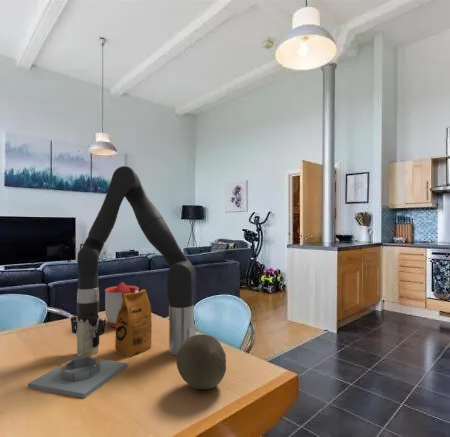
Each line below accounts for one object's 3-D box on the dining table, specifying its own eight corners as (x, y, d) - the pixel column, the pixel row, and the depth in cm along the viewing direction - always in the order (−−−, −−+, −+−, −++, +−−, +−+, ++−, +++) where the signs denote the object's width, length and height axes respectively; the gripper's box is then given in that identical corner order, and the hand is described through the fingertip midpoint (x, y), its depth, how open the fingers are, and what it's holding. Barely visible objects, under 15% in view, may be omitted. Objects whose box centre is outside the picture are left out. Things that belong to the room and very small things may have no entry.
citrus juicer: (114, 333, 138) (114, 287, 139) (99, 323, 151) (99, 282, 152) (146, 325, 149) (146, 282, 149) (130, 317, 162) (130, 278, 162)
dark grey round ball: (201, 372, 102) (201, 325, 102) (236, 386, 93) (235, 334, 93) (167, 390, 91) (167, 337, 91) (202, 408, 82) (202, 349, 82)
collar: (106, 367, 103) (106, 356, 103) (82, 383, 92) (82, 371, 92) (79, 362, 106) (79, 353, 106) (52, 378, 95) (52, 367, 95)
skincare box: (83, 358, 112) (83, 323, 113) (76, 355, 115) (76, 321, 115) (99, 352, 118) (99, 319, 118) (92, 349, 120) (92, 317, 120)
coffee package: (111, 351, 118) (111, 292, 118) (139, 342, 128) (139, 287, 128) (127, 358, 112) (127, 296, 112) (155, 347, 122) (155, 290, 122)
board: (127, 366, 106) (127, 362, 106) (84, 398, 87) (84, 393, 87) (78, 359, 111) (78, 355, 111) (27, 387, 92) (27, 383, 92)
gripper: (111, 298, 118) (111, 344, 118) (79, 296, 122) (79, 340, 122) (97, 303, 111) (97, 352, 111) (64, 301, 115) (64, 347, 115)
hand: (88, 345), depth 116 cm, fingers open, 6 cm apart
